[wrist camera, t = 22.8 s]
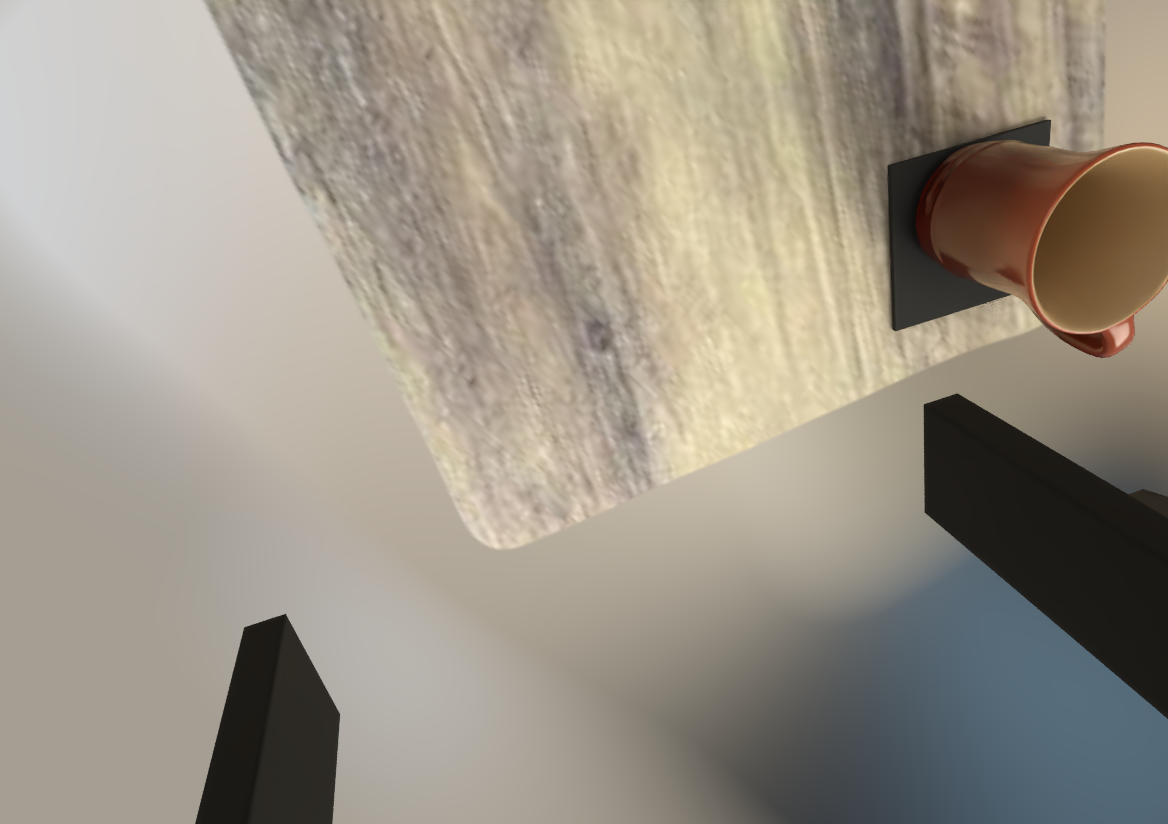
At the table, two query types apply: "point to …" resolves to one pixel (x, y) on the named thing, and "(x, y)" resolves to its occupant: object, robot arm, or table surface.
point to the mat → (914, 274)
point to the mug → (1055, 232)
